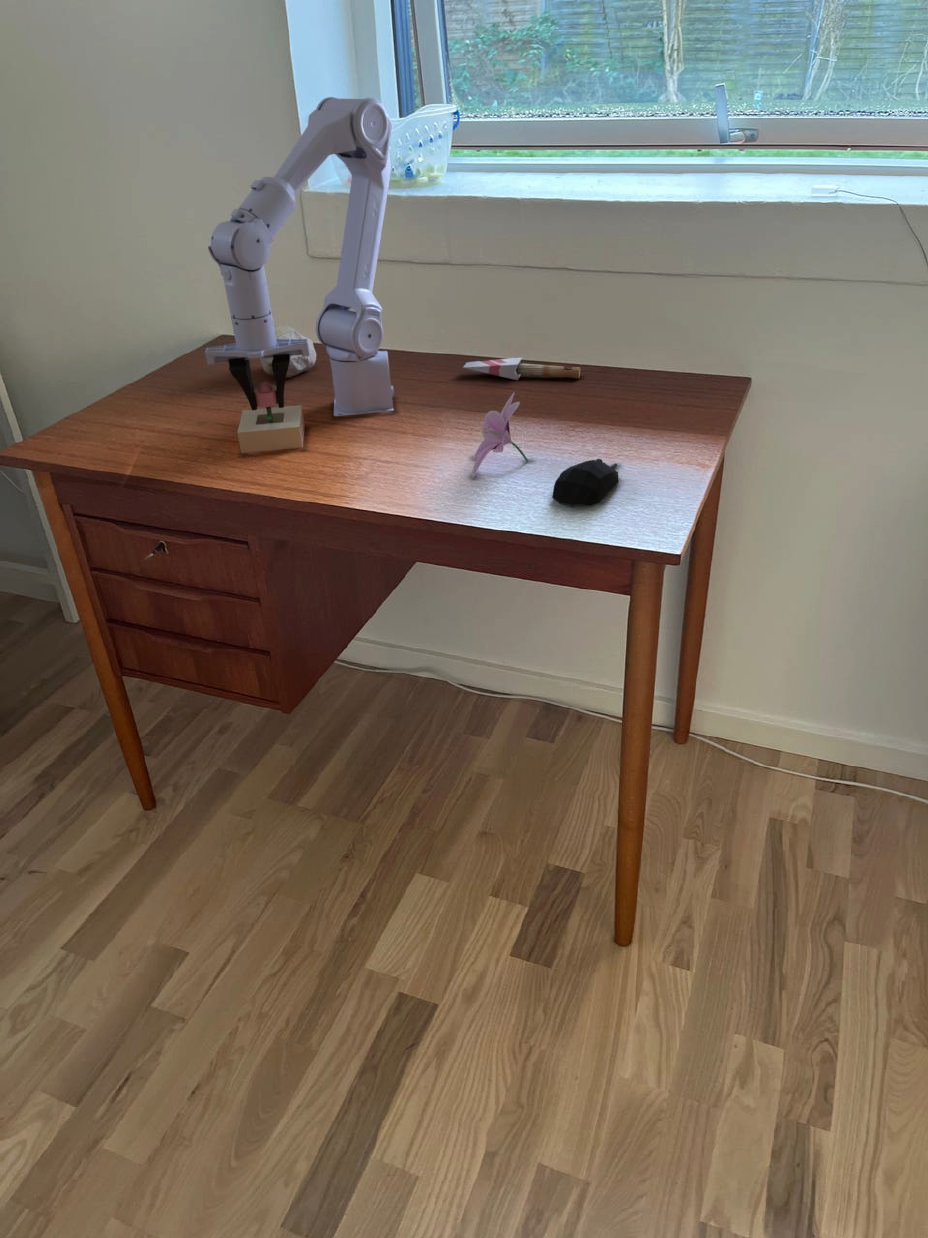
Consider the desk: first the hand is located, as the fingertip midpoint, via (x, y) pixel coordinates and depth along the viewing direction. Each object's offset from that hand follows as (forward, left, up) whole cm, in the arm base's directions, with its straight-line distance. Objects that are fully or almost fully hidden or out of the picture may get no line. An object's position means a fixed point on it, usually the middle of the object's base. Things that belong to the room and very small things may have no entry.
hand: (268, 406), depth 137 cm
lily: (-32, +16, -6) cm, 36 cm away
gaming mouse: (-43, +26, -6) cm, 51 cm away
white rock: (-1, -32, -6) cm, 33 cm away
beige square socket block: (0, 0, -6) cm, 6 cm away
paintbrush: (-41, -19, -6) cm, 46 cm away
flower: (0, 0, -5) cm, 5 cm away
